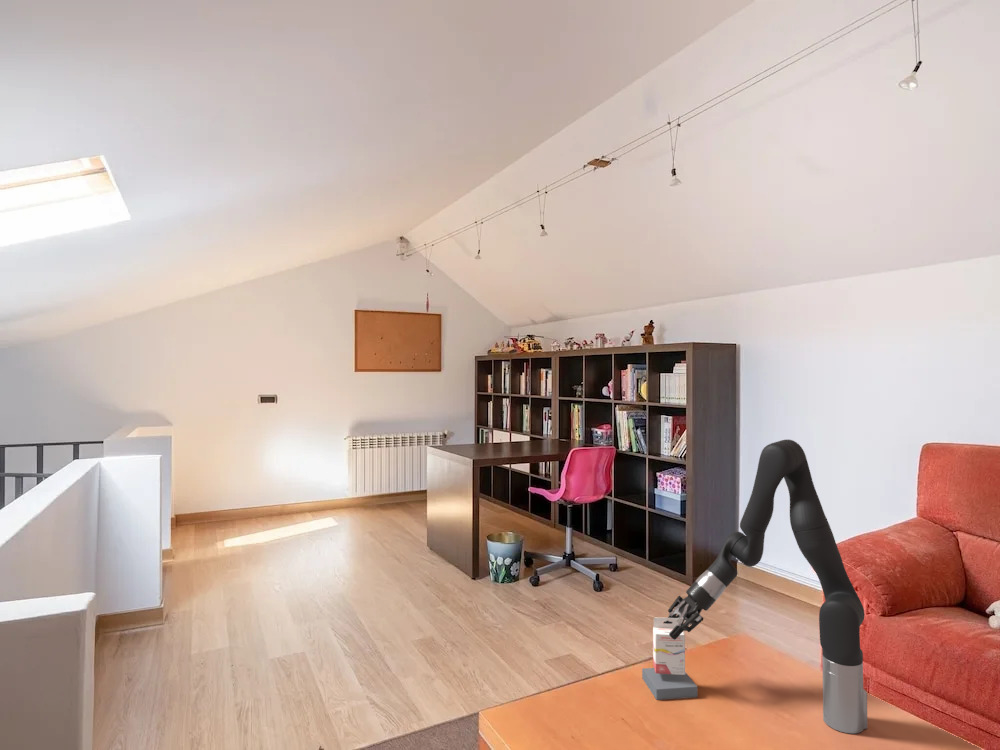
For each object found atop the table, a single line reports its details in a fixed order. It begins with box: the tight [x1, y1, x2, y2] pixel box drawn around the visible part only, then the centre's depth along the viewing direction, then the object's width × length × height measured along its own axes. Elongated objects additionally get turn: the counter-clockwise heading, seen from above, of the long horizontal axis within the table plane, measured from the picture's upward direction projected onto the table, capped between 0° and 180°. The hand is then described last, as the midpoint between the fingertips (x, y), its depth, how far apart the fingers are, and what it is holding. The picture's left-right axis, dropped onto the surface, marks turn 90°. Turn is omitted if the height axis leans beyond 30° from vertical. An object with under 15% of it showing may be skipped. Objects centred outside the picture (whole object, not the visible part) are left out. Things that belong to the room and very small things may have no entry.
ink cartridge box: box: [652, 616, 686, 675], centre depth 176 cm, size 9×5×15 cm, turn 85°
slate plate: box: [641, 667, 699, 701], centre depth 176 cm, size 12×12×3 cm
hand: (667, 632), depth 176 cm, fingers closed on ink cartridge box, 5 cm apart
